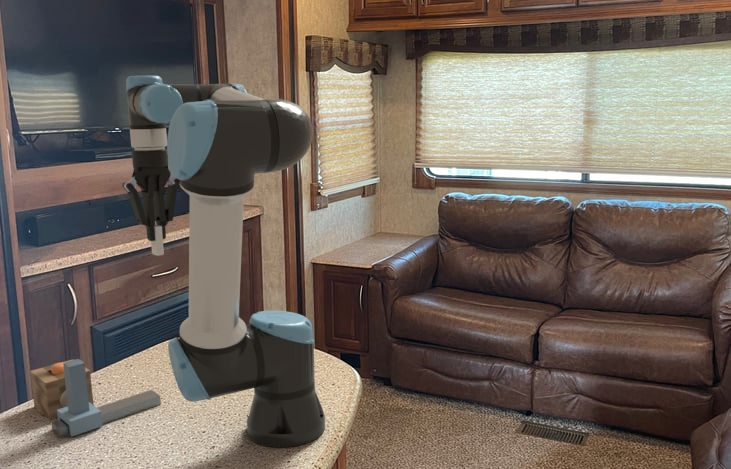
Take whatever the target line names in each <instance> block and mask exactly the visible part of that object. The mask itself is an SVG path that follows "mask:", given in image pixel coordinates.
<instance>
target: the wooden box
mask: <svg viewBox="0 0 731 469" xmlns="http://www.w3.org/2000/svg"><path fill="white" fill-rule="evenodd" d="M72 360H75V359H69V360H65V361H64V362H69V361H72ZM52 365H53V364H50V365H47V366H43V367H39V368H36V369H31V370H29V373H30V374H29V375H30V381H31V388H32V390H31V391H32V396H33V397H32V398H33V405H34V408H36V409H37V410H38V411H39V412H40V413H41V414H42V415H44V416H45V417H46V418H47V419H48V420H50V421H51V420H55V419H58V416H57V410H58V409H61V408H64V407H68V403H67V394H66V385H65V376H64V373H63V374H60V375H56V376H53V375H52V370H51V366H52ZM85 372H86V381H87V391H88V400H89V402H90V403H91V404H92V405H94V406H95V404H94V396H93V388H92V378H91V377H92V376H91V375H92V374H91V370H90V369H89V368H87V367H86V366H85Z"/></svg>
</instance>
